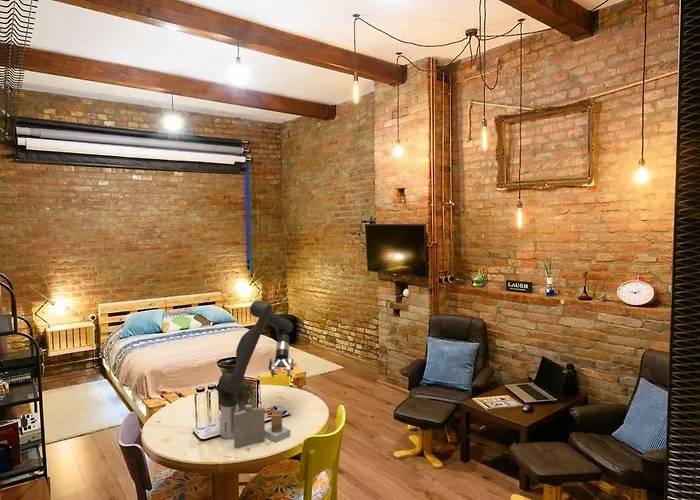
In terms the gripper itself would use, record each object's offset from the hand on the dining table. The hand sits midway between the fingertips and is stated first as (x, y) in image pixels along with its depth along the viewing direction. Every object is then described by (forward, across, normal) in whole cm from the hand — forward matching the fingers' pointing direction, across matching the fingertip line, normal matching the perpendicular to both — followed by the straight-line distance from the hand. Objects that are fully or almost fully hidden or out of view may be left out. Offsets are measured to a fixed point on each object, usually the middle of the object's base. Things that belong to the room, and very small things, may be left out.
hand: (280, 376), depth 265 cm
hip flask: (+38, -13, -1) cm, 40 cm away
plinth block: (+33, 0, +4) cm, 33 cm away
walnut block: (+30, 0, +1) cm, 30 cm away
